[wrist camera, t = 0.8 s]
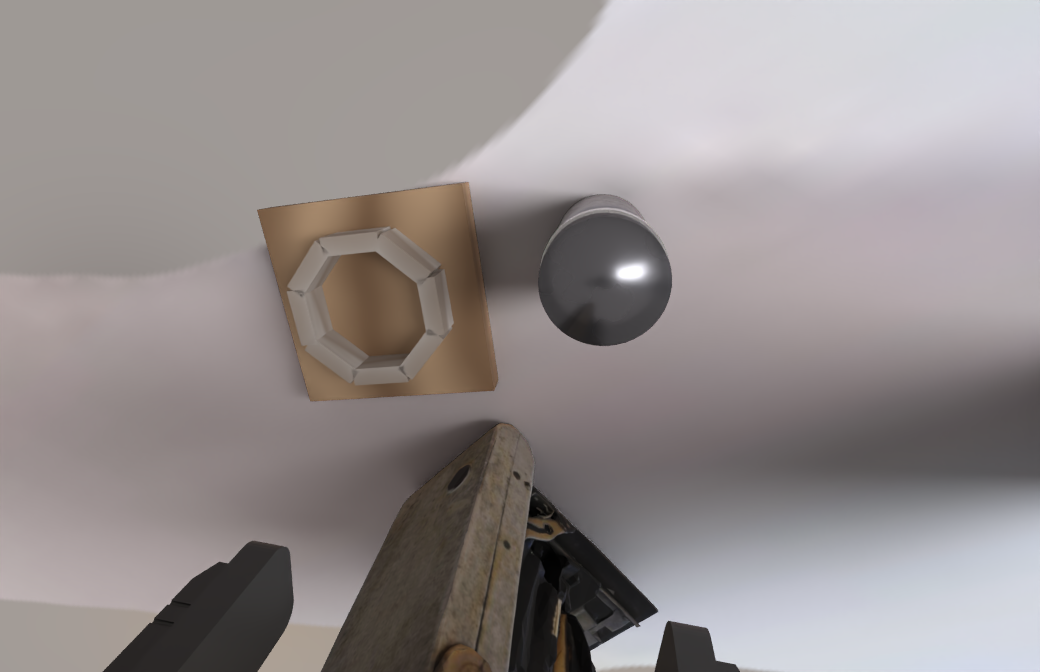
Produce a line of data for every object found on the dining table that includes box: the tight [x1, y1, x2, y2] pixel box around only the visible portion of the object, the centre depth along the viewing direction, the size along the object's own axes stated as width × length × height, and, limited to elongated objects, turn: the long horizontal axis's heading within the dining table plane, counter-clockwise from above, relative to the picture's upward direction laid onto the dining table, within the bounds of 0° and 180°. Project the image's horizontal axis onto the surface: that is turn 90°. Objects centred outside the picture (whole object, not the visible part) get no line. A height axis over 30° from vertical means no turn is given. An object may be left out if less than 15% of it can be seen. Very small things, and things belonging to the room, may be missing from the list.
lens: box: [538, 194, 672, 346], centre depth 25 cm, size 5×5×10 cm
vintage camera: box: [321, 423, 658, 672], centre depth 27 cm, size 10×15×20 cm, turn 44°
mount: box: [257, 182, 498, 401], centre depth 31 cm, size 12×12×4 cm
